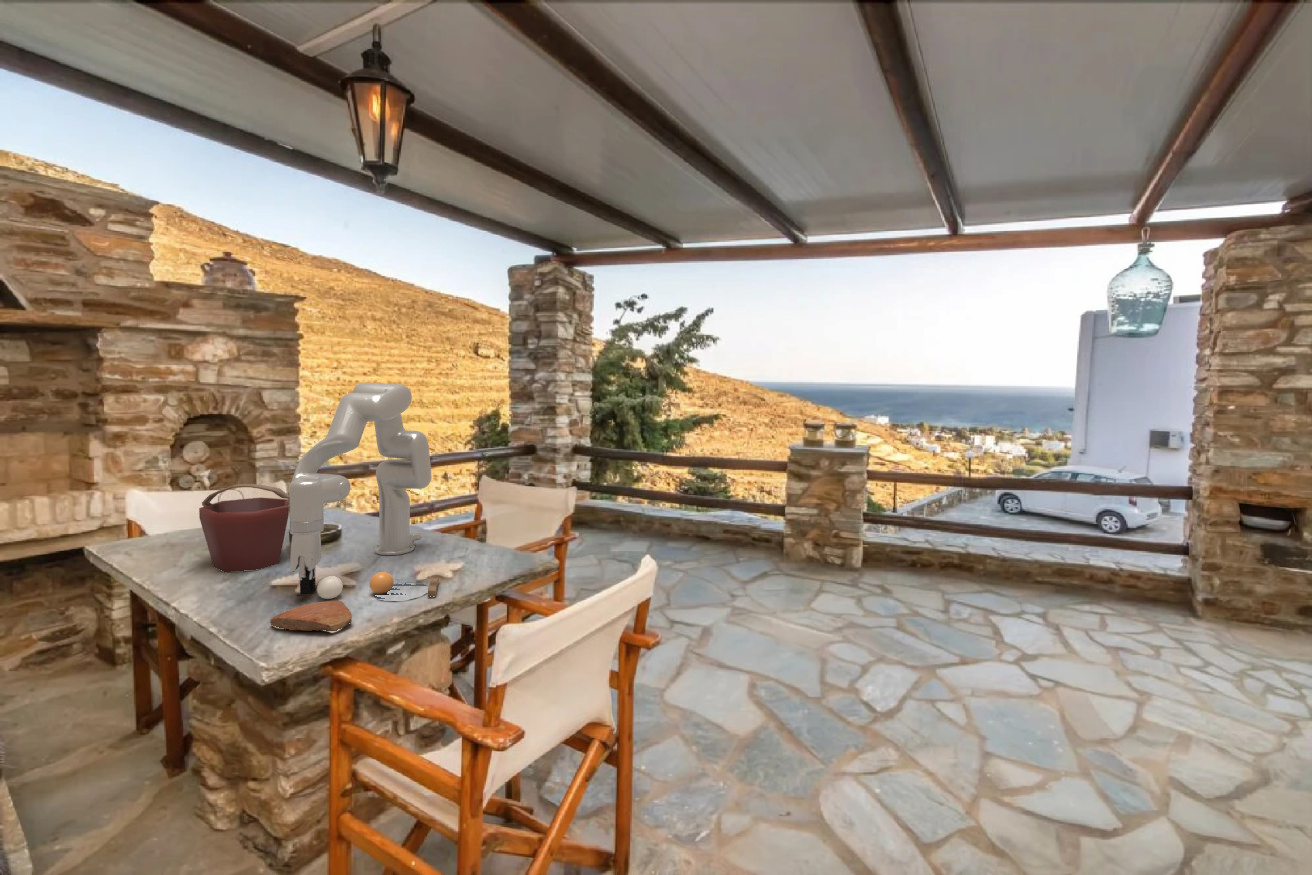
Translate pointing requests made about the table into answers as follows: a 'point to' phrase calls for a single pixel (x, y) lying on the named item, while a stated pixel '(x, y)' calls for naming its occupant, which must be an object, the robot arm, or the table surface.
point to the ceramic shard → (314, 617)
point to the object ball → (381, 582)
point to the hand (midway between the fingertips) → (307, 592)
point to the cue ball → (329, 587)
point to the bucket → (245, 529)
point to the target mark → (398, 589)
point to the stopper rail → (433, 586)
